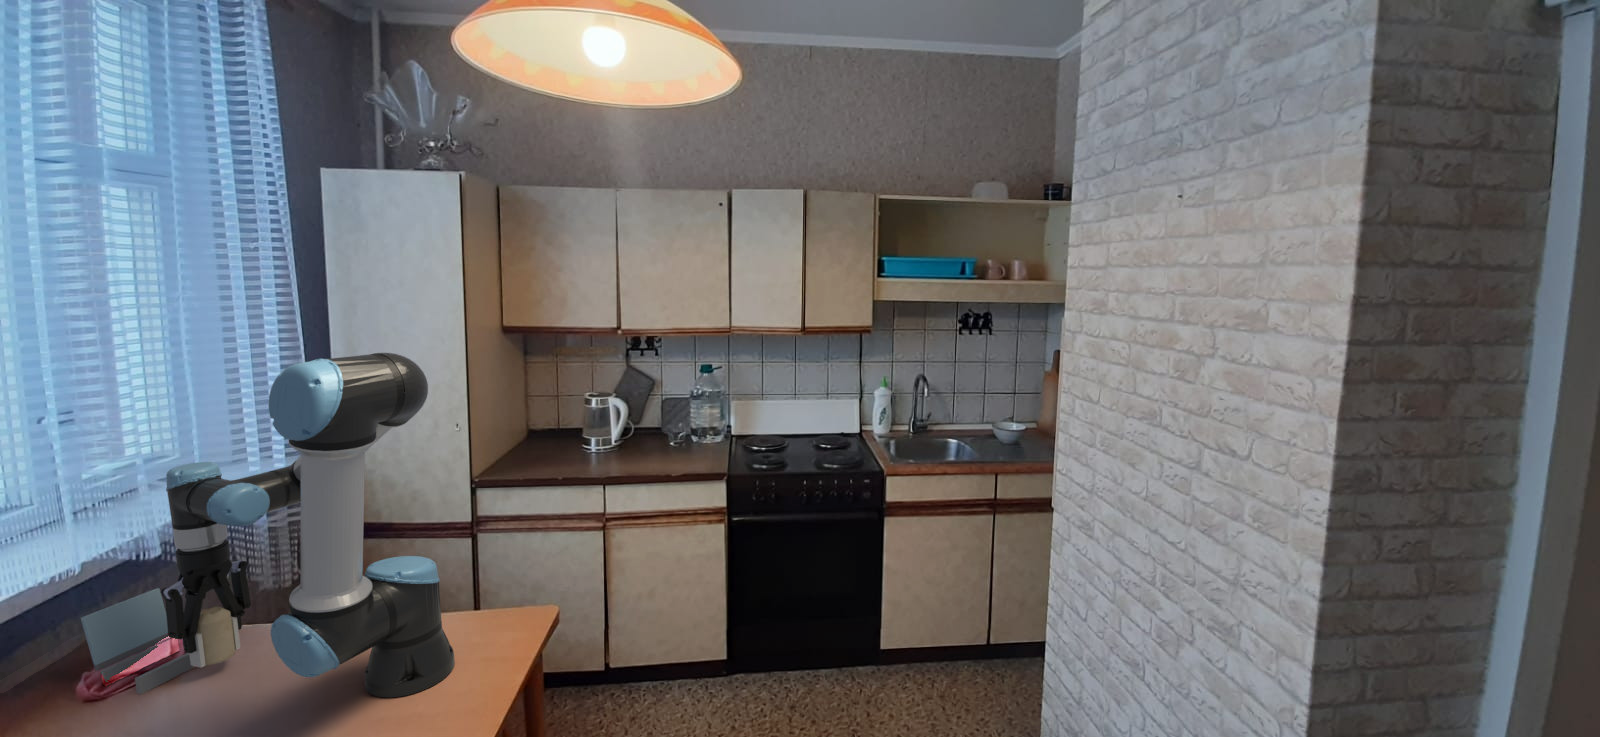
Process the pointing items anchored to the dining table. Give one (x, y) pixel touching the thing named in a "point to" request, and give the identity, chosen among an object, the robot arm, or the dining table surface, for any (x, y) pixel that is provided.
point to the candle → (216, 634)
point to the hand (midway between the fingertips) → (216, 656)
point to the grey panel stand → (152, 676)
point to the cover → (125, 628)
